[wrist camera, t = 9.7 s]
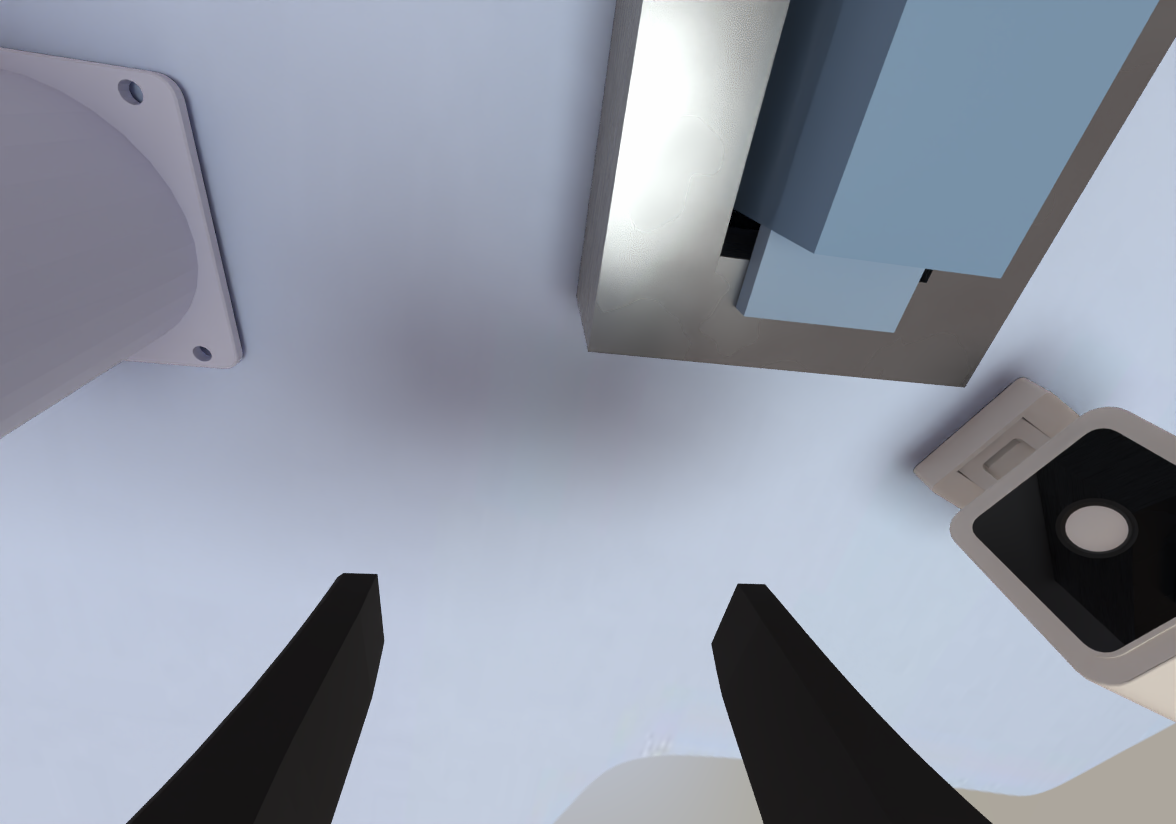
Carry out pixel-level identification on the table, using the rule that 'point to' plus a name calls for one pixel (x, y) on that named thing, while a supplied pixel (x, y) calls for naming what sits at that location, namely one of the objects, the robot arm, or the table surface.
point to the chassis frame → (722, 254)
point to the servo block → (914, 144)
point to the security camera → (1073, 531)
